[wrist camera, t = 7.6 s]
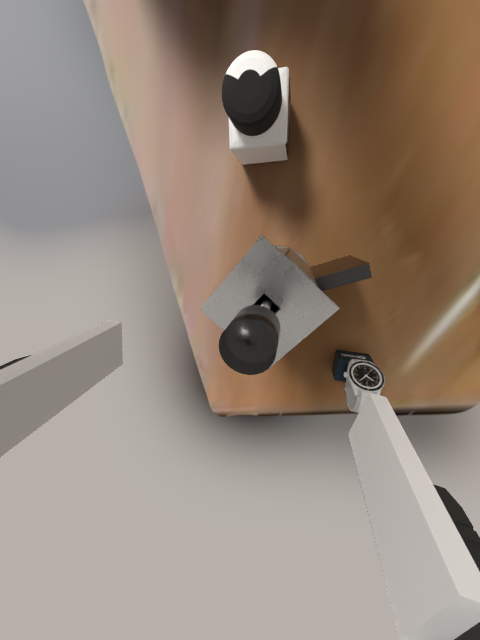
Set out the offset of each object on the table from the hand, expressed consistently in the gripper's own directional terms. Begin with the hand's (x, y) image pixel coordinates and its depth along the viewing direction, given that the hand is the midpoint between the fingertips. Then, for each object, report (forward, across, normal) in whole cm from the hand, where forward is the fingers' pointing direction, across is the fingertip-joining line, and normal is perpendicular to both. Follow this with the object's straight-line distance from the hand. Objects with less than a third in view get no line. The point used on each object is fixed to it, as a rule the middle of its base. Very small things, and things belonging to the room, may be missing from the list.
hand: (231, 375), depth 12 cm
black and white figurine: (+31, -7, +19) cm, 37 cm away
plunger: (+27, 0, -1) cm, 27 cm away
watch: (+31, +17, -12) cm, 37 cm away
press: (+31, +2, +1) cm, 31 cm away
